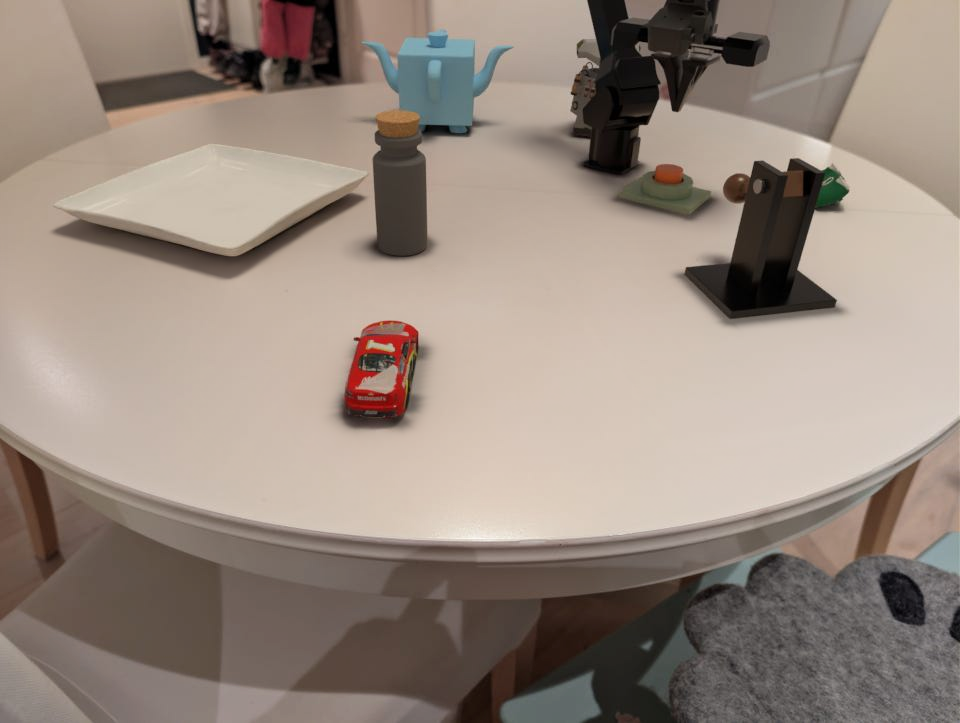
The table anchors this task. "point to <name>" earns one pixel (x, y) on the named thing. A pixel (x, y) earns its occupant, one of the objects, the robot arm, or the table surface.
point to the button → (668, 174)
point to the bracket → (768, 249)
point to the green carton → (832, 187)
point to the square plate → (215, 197)
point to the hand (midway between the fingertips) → (676, 111)
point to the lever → (739, 183)
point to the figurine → (585, 83)
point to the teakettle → (438, 78)
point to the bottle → (400, 184)
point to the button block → (666, 194)
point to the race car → (382, 370)
